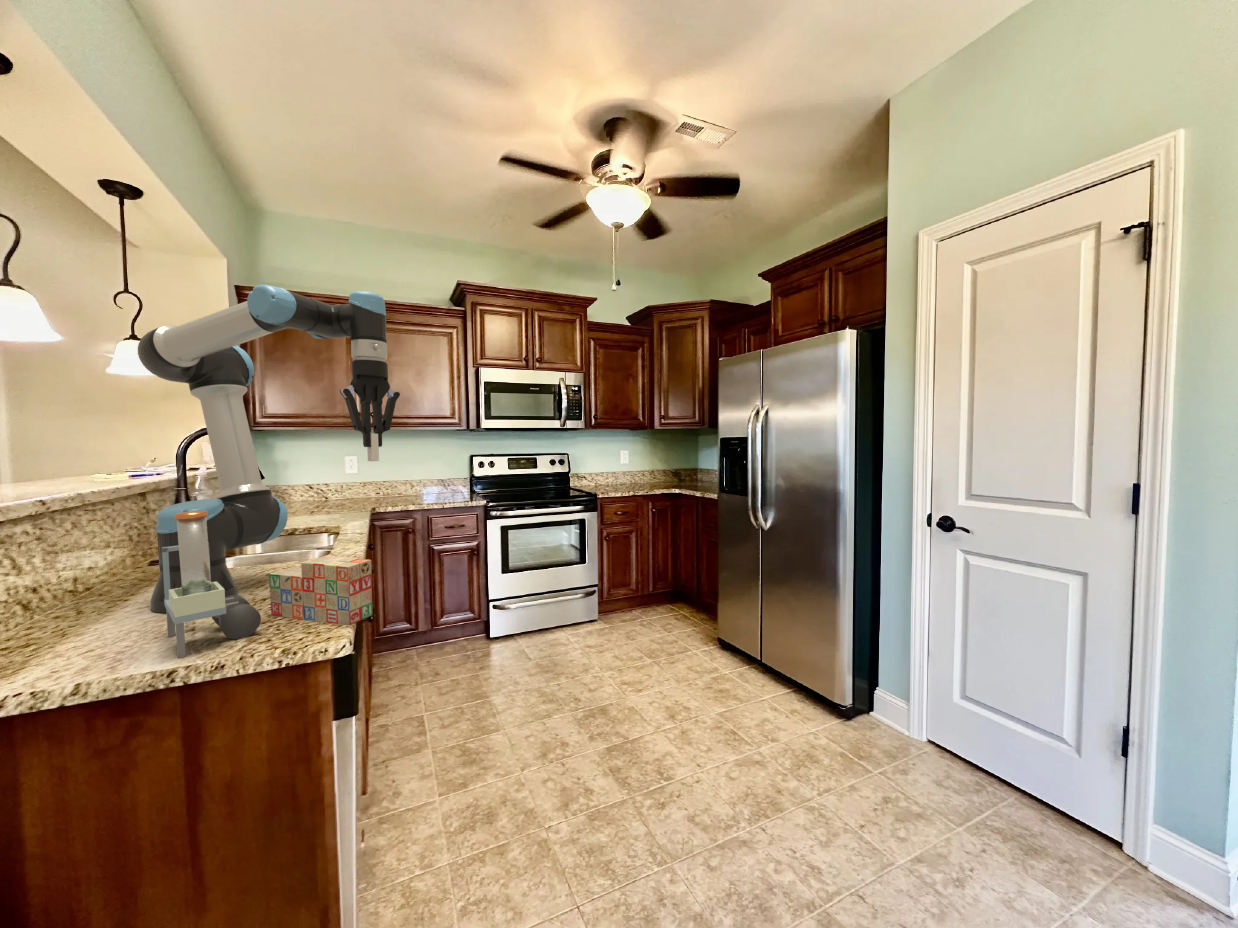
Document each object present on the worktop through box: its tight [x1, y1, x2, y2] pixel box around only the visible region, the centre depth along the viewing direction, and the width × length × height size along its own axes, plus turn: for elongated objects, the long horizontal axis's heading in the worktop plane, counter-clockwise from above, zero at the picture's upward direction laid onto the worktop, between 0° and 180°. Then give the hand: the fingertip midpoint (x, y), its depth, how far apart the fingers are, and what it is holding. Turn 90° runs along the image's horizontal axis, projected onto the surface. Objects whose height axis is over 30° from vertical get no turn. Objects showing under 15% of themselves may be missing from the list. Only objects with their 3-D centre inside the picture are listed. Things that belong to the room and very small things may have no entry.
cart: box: [162, 542, 262, 659], centre depth 93 cm, size 15×12×17 cm
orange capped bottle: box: [174, 511, 212, 596], centre depth 88 cm, size 5×5×17 cm
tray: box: [169, 581, 225, 618], centre depth 88 cm, size 8×7×3 cm
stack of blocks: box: [268, 555, 373, 626], centre depth 104 cm, size 21×6×12 cm, turn 74°
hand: (373, 461), depth 115 cm, fingers closed
